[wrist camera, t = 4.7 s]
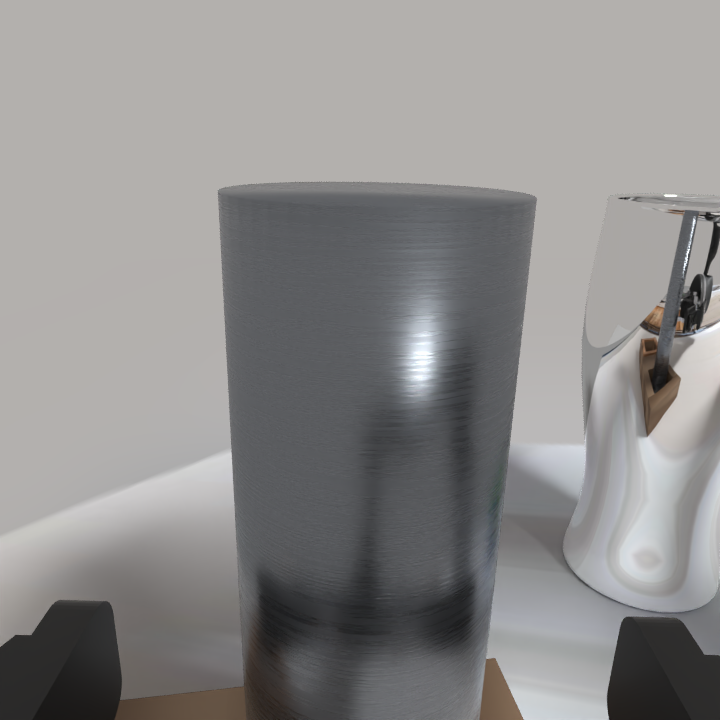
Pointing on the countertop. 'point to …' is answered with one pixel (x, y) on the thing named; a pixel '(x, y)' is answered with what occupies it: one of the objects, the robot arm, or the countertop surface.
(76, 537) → the countertop surface
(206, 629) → the countertop surface
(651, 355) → the beer glass
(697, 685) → the robot arm
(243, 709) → the wooden peg holder
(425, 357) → the metal peg
